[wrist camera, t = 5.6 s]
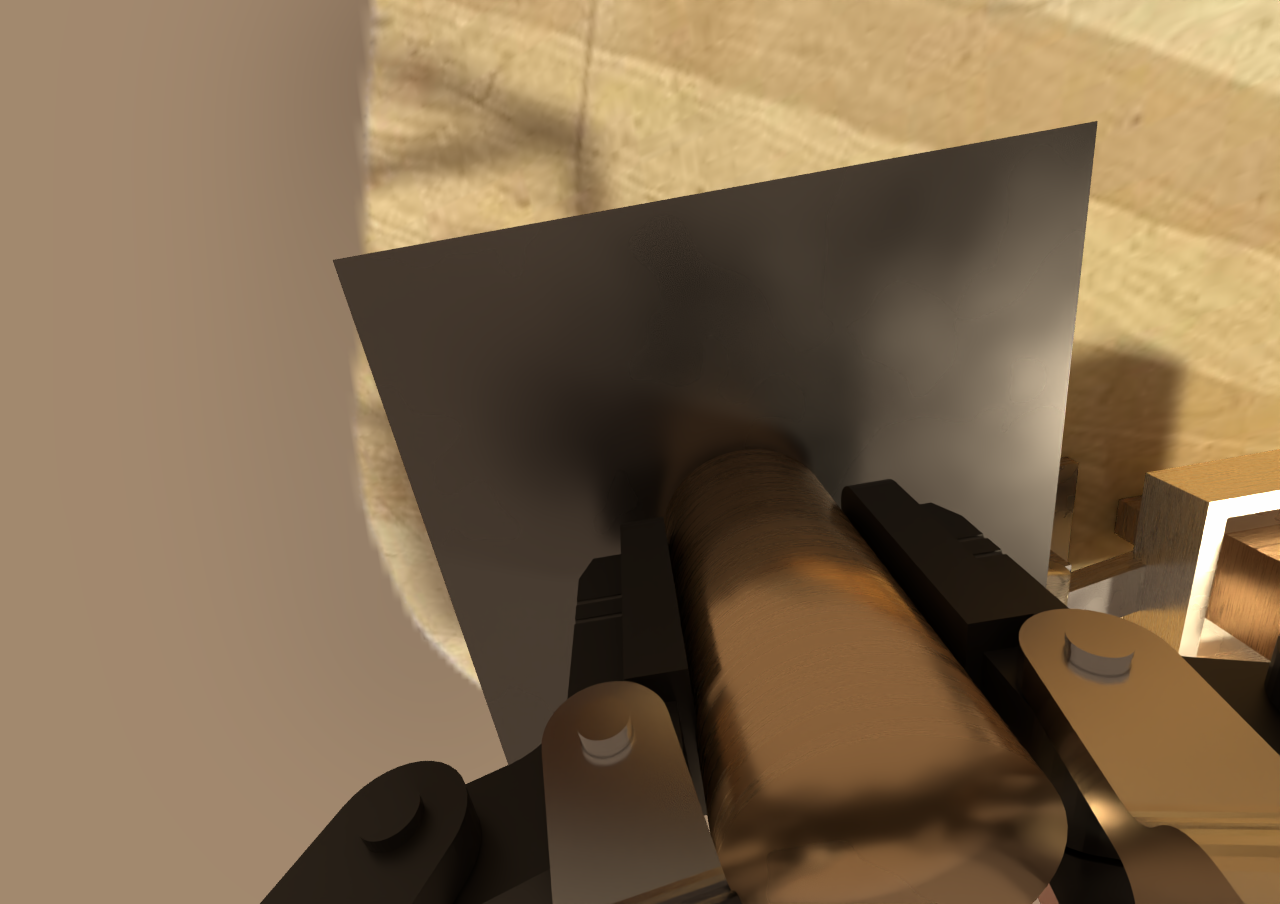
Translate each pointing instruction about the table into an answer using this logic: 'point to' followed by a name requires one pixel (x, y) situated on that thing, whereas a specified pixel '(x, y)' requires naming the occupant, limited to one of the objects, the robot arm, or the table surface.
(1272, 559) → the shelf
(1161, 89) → the table surface
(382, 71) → the table surface
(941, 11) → the table surface
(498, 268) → the small metal side table
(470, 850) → the robot arm
